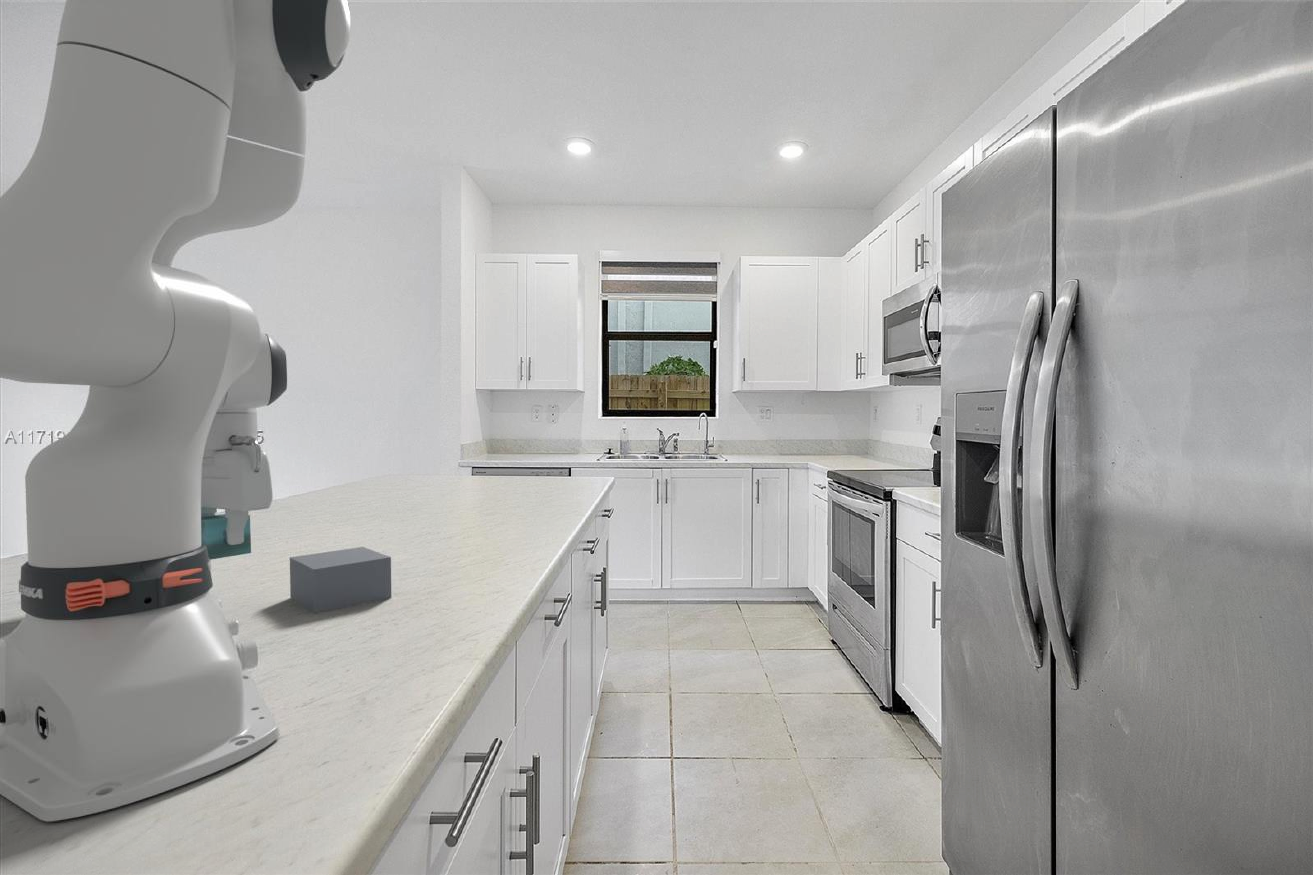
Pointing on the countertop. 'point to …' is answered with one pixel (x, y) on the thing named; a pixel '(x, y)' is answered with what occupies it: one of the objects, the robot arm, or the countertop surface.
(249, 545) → the teal block
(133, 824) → the countertop surface
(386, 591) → the charcoal block
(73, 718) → the robot arm
